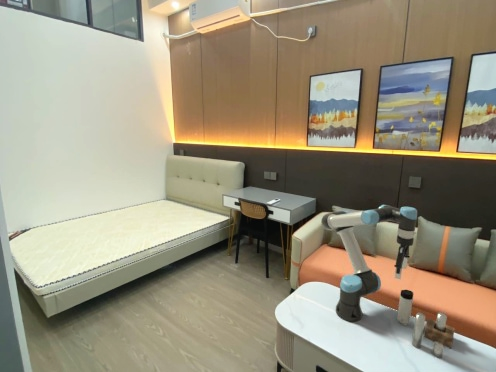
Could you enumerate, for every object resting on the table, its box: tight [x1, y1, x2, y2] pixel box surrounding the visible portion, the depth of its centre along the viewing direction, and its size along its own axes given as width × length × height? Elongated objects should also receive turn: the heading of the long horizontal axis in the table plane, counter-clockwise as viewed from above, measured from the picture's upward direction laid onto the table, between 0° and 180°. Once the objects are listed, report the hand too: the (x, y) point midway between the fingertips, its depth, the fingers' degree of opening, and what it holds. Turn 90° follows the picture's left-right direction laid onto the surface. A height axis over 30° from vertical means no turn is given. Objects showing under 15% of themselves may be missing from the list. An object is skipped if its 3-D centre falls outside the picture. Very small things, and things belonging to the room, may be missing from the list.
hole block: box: [423, 317, 456, 350], centre depth 143 cm, size 12×10×6 cm
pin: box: [435, 311, 448, 332], centre depth 142 cm, size 4×4×14 cm
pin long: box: [411, 312, 426, 349], centre depth 136 cm, size 4×4×18 cm
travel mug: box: [396, 289, 414, 326], centre depth 153 cm, size 6×7×20 cm
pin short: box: [431, 341, 445, 359], centre depth 132 cm, size 4×4×6 cm
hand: (400, 273), depth 142 cm, fingers open, 13 cm apart
